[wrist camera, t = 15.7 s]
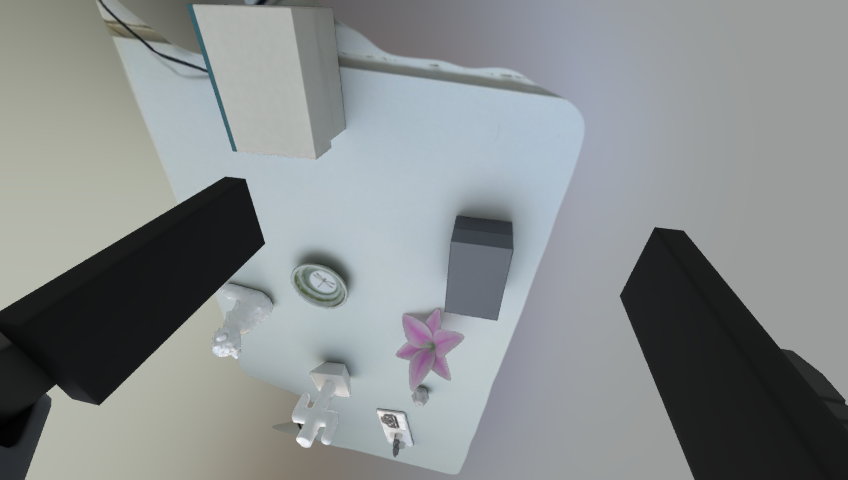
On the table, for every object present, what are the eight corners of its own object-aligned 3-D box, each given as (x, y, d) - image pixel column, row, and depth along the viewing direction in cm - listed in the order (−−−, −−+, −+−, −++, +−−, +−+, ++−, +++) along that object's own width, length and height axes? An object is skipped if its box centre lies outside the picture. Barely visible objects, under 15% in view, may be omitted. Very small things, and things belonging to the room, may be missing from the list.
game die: (415, 382, 67) (412, 396, 65) (432, 389, 67) (430, 403, 65) (411, 391, 70) (407, 404, 67) (427, 397, 70) (425, 411, 67)
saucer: (292, 283, 58) (285, 292, 56) (305, 245, 52) (297, 254, 50) (342, 307, 59) (337, 317, 57) (360, 273, 53) (355, 283, 51)
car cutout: (413, 444, 83) (409, 464, 79) (388, 440, 85) (383, 460, 81) (404, 412, 75) (399, 432, 71) (377, 408, 76) (370, 428, 73)
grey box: (456, 215, 44) (450, 241, 39) (512, 222, 43) (513, 249, 38) (450, 283, 50) (444, 312, 46) (497, 290, 49) (497, 320, 45)
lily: (479, 311, 54) (455, 333, 46) (471, 375, 56) (447, 407, 48) (416, 292, 60) (385, 310, 51) (412, 351, 62) (381, 377, 54)
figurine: (312, 356, 69) (272, 429, 57) (353, 360, 67) (321, 437, 55) (322, 377, 73) (287, 449, 61) (362, 381, 71) (333, 457, 59)
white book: (217, 4, 29) (186, 3, 26) (312, 7, 28) (290, 7, 25) (254, 140, 36) (232, 151, 33) (331, 147, 35) (316, 160, 32)
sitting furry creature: (224, 281, 61) (172, 332, 51) (261, 277, 58) (214, 330, 49) (251, 317, 66) (208, 370, 56) (287, 315, 63) (248, 371, 54)
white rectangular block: (266, 5, 34) (223, 4, 29) (332, 7, 33) (301, 6, 28) (290, 124, 41) (259, 140, 36) (345, 129, 40) (322, 146, 35)
